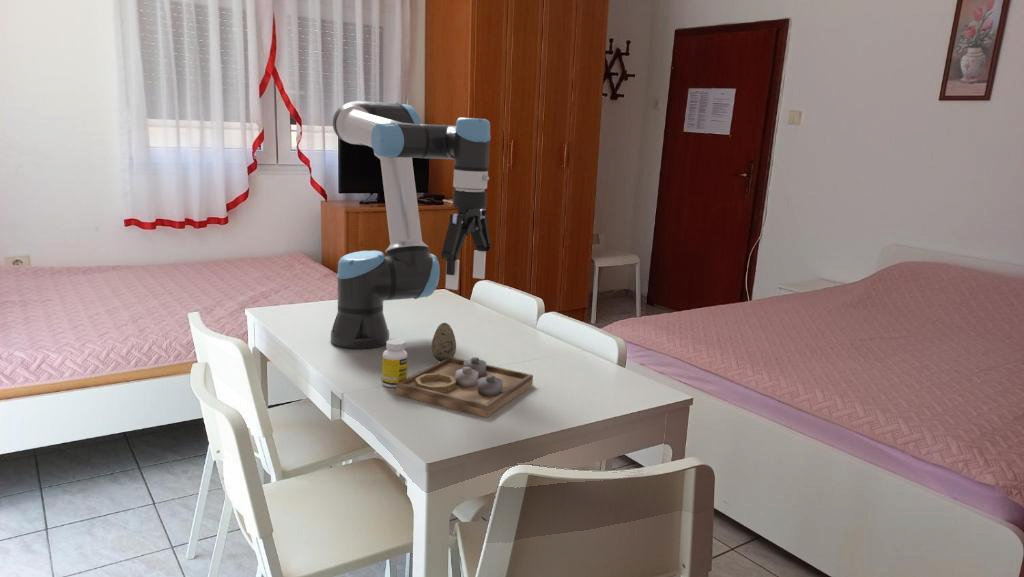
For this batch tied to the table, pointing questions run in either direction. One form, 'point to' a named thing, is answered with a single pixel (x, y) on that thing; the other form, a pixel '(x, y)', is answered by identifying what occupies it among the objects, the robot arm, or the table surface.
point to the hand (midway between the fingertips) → (465, 283)
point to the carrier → (465, 385)
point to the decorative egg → (443, 342)
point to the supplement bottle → (394, 363)
